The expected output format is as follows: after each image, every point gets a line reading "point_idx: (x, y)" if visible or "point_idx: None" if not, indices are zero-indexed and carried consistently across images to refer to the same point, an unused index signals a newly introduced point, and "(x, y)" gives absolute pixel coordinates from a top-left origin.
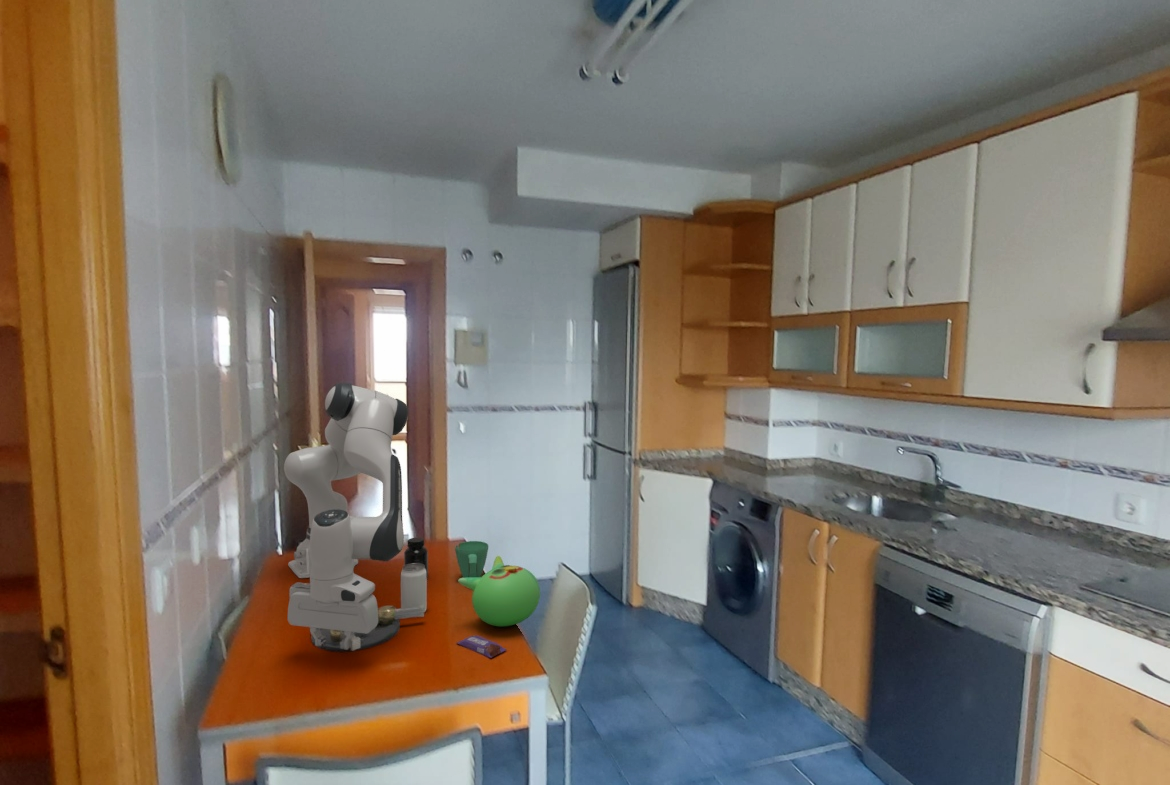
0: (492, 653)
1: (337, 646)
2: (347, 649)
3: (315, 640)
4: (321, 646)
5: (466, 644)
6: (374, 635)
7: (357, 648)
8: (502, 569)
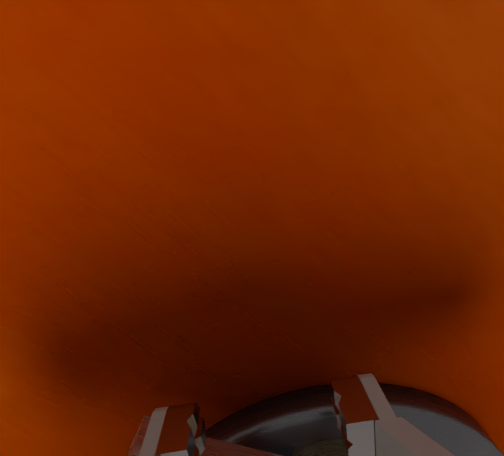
0: None
1: (291, 416)
2: (245, 416)
3: (386, 406)
4: (329, 380)
5: None
6: None
7: (135, 436)
8: None
